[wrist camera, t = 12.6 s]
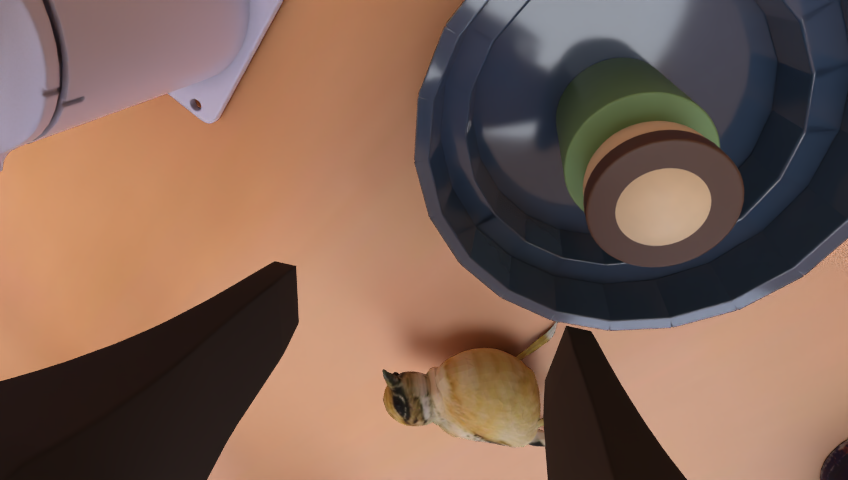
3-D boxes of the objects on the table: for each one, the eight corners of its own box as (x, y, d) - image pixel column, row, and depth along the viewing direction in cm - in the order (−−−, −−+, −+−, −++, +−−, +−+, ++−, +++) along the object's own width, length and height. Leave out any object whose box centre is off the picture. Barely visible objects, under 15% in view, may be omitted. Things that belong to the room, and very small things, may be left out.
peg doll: (533, 117, 17) (535, 214, 11) (621, 31, 15) (692, 85, 9) (603, 184, 18) (645, 314, 11) (696, 111, 16) (813, 218, 9)
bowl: (379, 118, 19) (337, 162, 15) (649, -222, 12) (709, -315, 8) (587, 301, 22) (601, 381, 18) (901, 101, 15) (1042, 153, 11)
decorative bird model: (584, 335, 18) (364, 416, 20) (628, 478, 25) (463, 531, 27) (548, 271, 22) (364, 343, 23) (595, 412, 29) (452, 461, 30)
